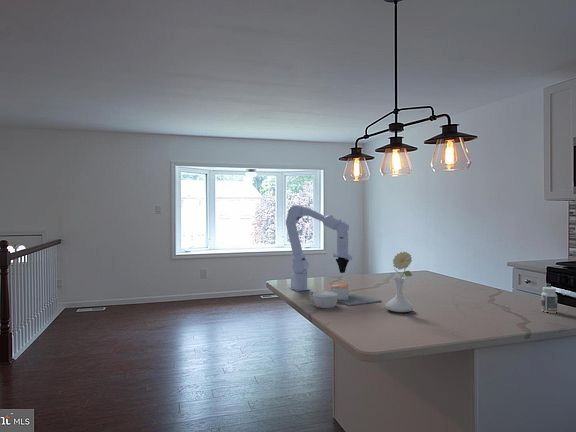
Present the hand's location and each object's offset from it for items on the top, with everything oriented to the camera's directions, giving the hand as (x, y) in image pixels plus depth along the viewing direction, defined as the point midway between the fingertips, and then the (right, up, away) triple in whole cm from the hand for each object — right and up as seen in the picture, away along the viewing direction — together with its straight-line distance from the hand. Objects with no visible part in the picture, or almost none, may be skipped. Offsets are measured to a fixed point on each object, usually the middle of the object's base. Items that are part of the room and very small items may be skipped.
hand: (342, 272), depth 205 cm
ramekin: (-11, -11, -28) cm, 32 cm away
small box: (-3, -7, -10) cm, 12 cm away
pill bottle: (+80, -11, -38) cm, 89 cm away
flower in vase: (+19, -11, -38) cm, 44 cm away
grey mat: (+3, -10, -17) cm, 20 cm away
